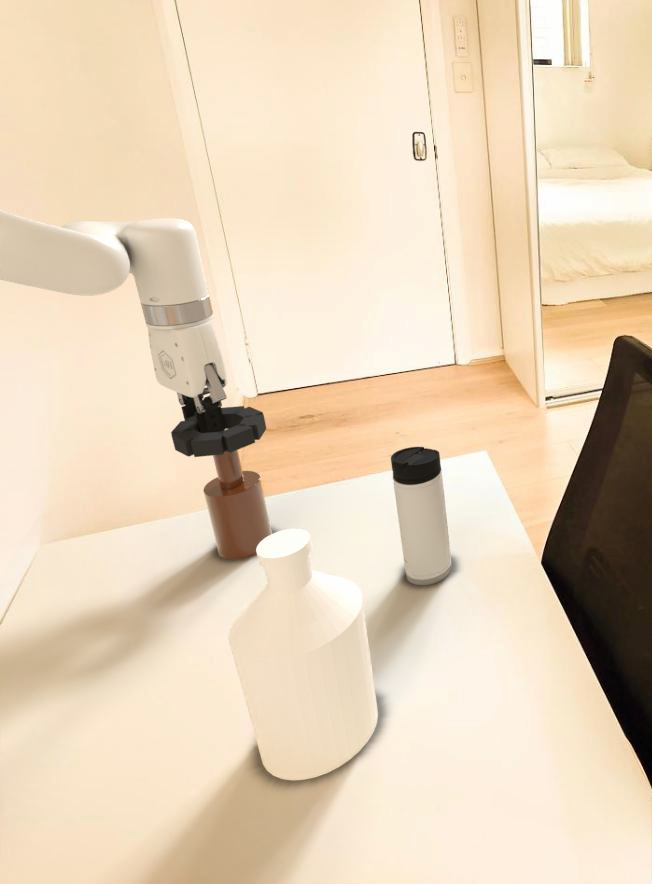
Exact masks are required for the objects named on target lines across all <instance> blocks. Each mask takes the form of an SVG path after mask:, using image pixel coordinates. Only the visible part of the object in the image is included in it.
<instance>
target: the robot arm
mask: <svg viewBox="0 0 652 884" xmlns="http://www.w3.org/2000/svg"><path fill="white" fill-rule="evenodd" d="M197 236H198V235H197V232H196V230H195V227H194V226H193V225H192V223H191V222H190V221H188V220H185V219H182V218H175V217H160V218H159V217H158V218H149V219H148V218H147V219H141V220H137V221H100V220H99V221H97V220H96V221H95V220H83V221H73V222H69V223H66V224H63V225H61V226H56V225H54V224H50V223H46V222H42V221H37V220H35V219H31V218H27V217H24V216H20V215H18V214H14V213H12V212H9V211H5V210H3V209H0V280H1V281H5V282H8V283H9V282H10V283H14V284H17V285H22V286H27V287H32V288H38V289H43V290H46V291H51V292H57V293H62V294H66V295H72V296H81V297H82V296H83V297H87V296H88V297H93V296H100V295H105V294H109V293H111V292H113V291H115V290H116V289H118V288H119V287H121V286H122V285H123V284H124V283H126V280H127V279H128V277H129V275H130V274H131V275H132V276H133V278H134V283H135V286H136V291H137V294H138V297H139V298H138V299H139V301H140V306H141V310H142V314H143V318H144V321H145V325H146V328H147V335H148V343H149V347H150V348H149V349H150V355H151V359H152V364H153V370H154V374H155V379H156V381H157V383H158V384H159V385H161V386H163V387H164V388H167V389H169V390H171V391H173V392H176V396H177V400H178V403H179V405H180V406H181V410H182V411H181V412H182V415H183V421H186V418H189V417H191V416H194V415H195V418H196V422H197V425H198V429H199V432H200V433H211V432H221V431H224V430H226V429H225V423H224V419H223V414H222V410H221V408H222V407H223V404H222V401H224V400H226V399H227V397H228V396H227V394H226V392H225V389H224V388H225V387H226V386H227V385H228V373H227V369H226V364H225V361H224V356H223V353H222V352H223V351H222V349H221V346H220V343H219V339H218V337H217V334H216V331H215V328H214V325H213V322H212V320H213V319H214V318H215V314H214V311H213V306H212V300H211V296H210V291H209V288H208V283H207V278H206V273H205V268H204V263H203V260H202V259H203V258H202V255H201V251H200V246H199V245H200V244H199V242H198V237H197ZM205 395H207V396H205Z"/></svg>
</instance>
